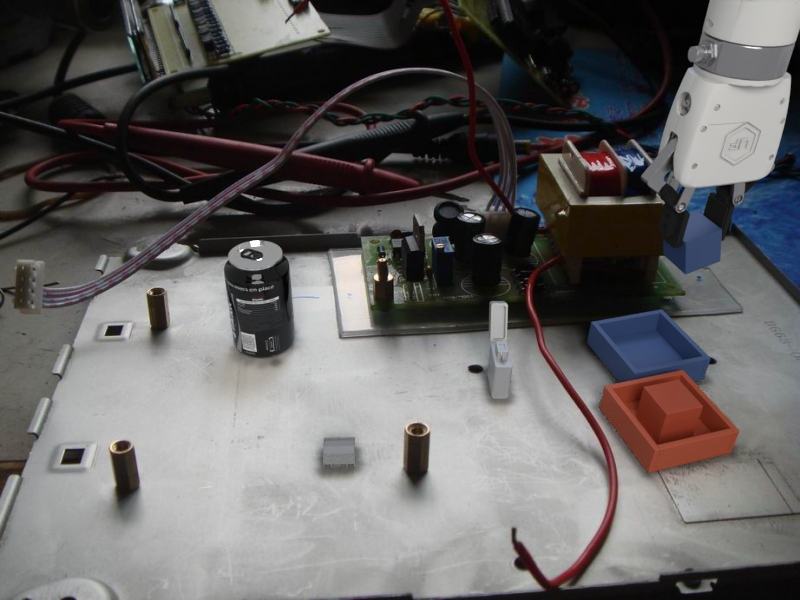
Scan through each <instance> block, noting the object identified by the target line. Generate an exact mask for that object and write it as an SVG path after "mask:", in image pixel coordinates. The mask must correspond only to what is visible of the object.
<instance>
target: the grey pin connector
mask: <svg viewBox="0 0 800 600" xmlns="http://www.w3.org/2000/svg"><path fill="white" fill-rule="evenodd" d="M322 447H323V448H322V467H323V468H322V469H323V470H325V467H326V466H328V465H330V468H333V465H338V466H337V467H341V465H345V467H346V468H345V469H346V470H348V469H349V465H353V467H356V450H357V449H356V437H354V436H345V437H343V436H341V437H340V436H339V437H323V443H322Z"/></svg>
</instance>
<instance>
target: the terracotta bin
mask: <svg viewBox="0 0 800 600" xmlns="http://www.w3.org/2000/svg"><path fill="white" fill-rule="evenodd" d="M675 380H680V381H681V382H682V384H683V385H684V386H685V387H686V388H687V389H688V390H689V391H690V392H691V393H692V395H693V396H694V397H695V398H696V399H697V400H698V401H699V402H700V403H701V404H702V406H703V408H702V411H701V414H700V417H699V420H698V423H697V426H696V429H695V432H694V434H693V436H691V437H687V438H682V439H678V440H674V441H669V442H665V443H661V444H657V443H656V442H655V440H654V439H653V438H652V436H651V435H650V434H649V433H648V431H647V430H646V429H645V428H644V426H643V425H642V424H641V423H640V421H639V420H638V419H637V417H636V413H637V410H638V406H639V402H640V399H641V395H642V392H643V388H644V387H645V386H650V385H655V384H660V383H665V382H670V381H675ZM598 407H599V409H600V410H601V412H602V414H604V416H605V417H606V419H607V420H608V421H609V423H610V424H611V426H612V427H613V428H614V429H615V430H616V432H617V434H618V435H619V436H620V437H621V439H622V440H623V441H624V443H625V444H626V446H627V447H628V448H629V450H630V451H631V452H632V454H633V455H634V456H635V457H636V459H637V460H638V461H639V463H640V464H641V465H642V467H643V468H644V469H645V471H646V472H647V473H648V474H650V473H653V472H658V471H663V470H667V469H671V468H675V467H679V466H682V465H688V464H691V463H695V462H699V461H704V460H708V459H712V458H716V457H720V456H725V455H729V454H732V452H733V450H734V448H735V445H736V442H737V439H738V437H739V434H740V430H739V428H738V427H737V426H736V425H735V424H734V423H733V422H732V420H730V418H728V416H727V415H725V413H724V412H723V411H722V410H721V409H720V408H719V407H718V405H716V403H715V402H714V401H712V400H711V398H710V397H709V396H708V395H707V393H705V392H704V391H703V390H702V388H700V386H699V385H697V383H696V381H693V380H692V379H691V378H690V377H689V376H688V375H687V374H686V373H685V372H684V371H683V370H680V371H675V372H670V373H665V374H660V375H656V376H651V377H646V378H641V379H636V380H631V381H626V382H621V383H619V382H617V383H611V384H608V385H604V386H603V391H602V395H601V399H600V403H599V406H598Z"/></svg>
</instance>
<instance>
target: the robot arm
mask: <svg viewBox="0 0 800 600" xmlns="http://www.w3.org/2000/svg"><path fill="white" fill-rule="evenodd" d="M706 10H707V11H706V13H705V18H704V21H703V26H702V30H701V34H700V37H699V42H698V45H695V46H694V45H693V46H690V47H689V49H688V51H687V59H688V61H689V62H690V63H693V65H692V66H691V67H688V68H687V70H686V72H685V73H684V76H683V78H682V80H681V83H680V85H679V87H678V90H677V92H676V93H675V97H674V99H673V102H672V105H671V107H670V111H669V113H668V116H667V119H666V122H665V126H664V129H663V132H662V136H661V140H660V144H659V147H658V154H657V156H656V157H655V158H654V160H652V162H651V163H650V164H649V166H648V167H647V168H646V169H645V170H644V171H643V173H642V174H641V176H640V180H641V182H643V184H645V185H647V186H648V187H649V188H650V189H651V190H653V191H654V192H656V194H657V195H658V196H659V198H660V200H661V201H662V202H663V208H662V211H661V216H660V219H659V223H658V228H657V234H658V236H659V238H661V239H662V240H663V239H664V240H665V241H666V242H667V243H668V244H670V245H671V246H672V247H673V248H678V247H680V246H681V245H682V241H683V238H684V234H685V231H686V227H687V224H688V220H689V217H690V214H691V213H690V211H688V210H687V208H688V206H689V204H690V202H691V200H692V198H693V195H694V193H695V191H696V189H704V188H712V187H713V188H714V187H715V192H714V191H713V192H710V193H709V194H708V197H707V199H706V203H705V207H704V210H703V213H702V214H703V215H704V216H705V217H706V218H708V219H709V220H710V221H712V222H713V223H714V224H716V225H717V226H718V227H719V228H721V229H722V240H721V242H723V241H725V239H726V236H727V233H728V229H729V227H730V223H731V220H732V216H733V214H734V210H735V206H739V205H740V204H741V203H743V201H744V199H745V194H746V193H748V191H750V190H751V189H752V188H753V187H754V186H756V184H757V183H758V181H760V180H761V179H763V178H765V177H767V176H768V175H769V174H770V173H771V172H773V170H774V169H775V167H776V163H775V161H776V157H777V154H778V151H779V147H780V143H781V140H782V136H783V132H784V129H785V124H786V119H787V115H788V111H789V110H788V109H789V103H790V96H791V89H792V88H791V85H792V75H791V74H790V73H789V72H788V71H787V70H788V67H789V64H790V60H791V57H792V55H793V51H794V49H795V46H796V45H795V44H796V41H797V38H798V35H799V33H800V0H709V3H708V6H707V9H706ZM669 172H670V173H669ZM668 173H669V175H668V177H667V179H666V180H665V177H666V175H667V174H668ZM680 186H681V188H680V190H679V192H677V191H678V188H679V187H680Z"/></svg>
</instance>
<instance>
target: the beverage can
mask: <svg viewBox="0 0 800 600" xmlns="http://www.w3.org/2000/svg"><path fill="white" fill-rule="evenodd" d="M227 258H228V259H227V261H226V262H225V263H224V266H223V275H224V277H223V278H224V284H225V291H226V297H227V298H226V299H227V304H228V313H229V321H230V326H231V327H230V328H231V333H232V339H233V345H234V347H235V348H236V350H238V351H239V352H240V353H241V354H243V355H244V356H247V357H250V358H254V359H255V358H256V359H269V358H274V357H276V356H279V355H282V354H283V353H285V352H286V351H287V350H289V349H290V348H291V347H292V345H293V344H294V342H295V339H296V331H295V330H296V329H295V328H296V327H295V315H294V301H293V288H292V276H291V268H290V266H291V265H290V262H289V260H288V258H287V256H285V255H284V254H283V249H282V248H281V247H280V245H278V244H276V243H275V242H272V241H268V240H250V241H244V242H242V243H238V244H237V245H235V246H234V247H232V248H231V249H230V250H229V252H228V255H227Z"/></svg>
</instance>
